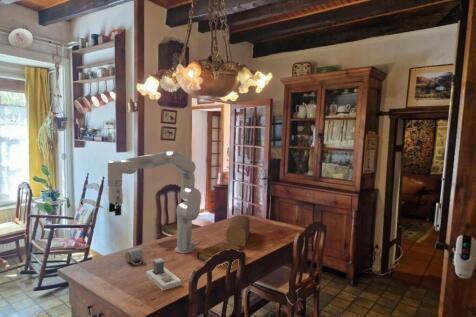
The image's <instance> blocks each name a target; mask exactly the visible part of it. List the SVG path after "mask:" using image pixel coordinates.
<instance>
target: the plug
mask: <svg viewBox="0 0 476 317" xmlns="http://www.w3.org/2000/svg"><path fill="white" fill-rule="evenodd" d="M164 267H165V260H164V259H163V258H161V257H159V258H154V259H153V268H152V270H153V273H154V274H155V275H158V274H162V273H164Z"/></svg>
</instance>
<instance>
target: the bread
mask: <svg viewBox="0 0 476 317" xmlns="http://www.w3.org/2000/svg"><path fill="white" fill-rule="evenodd" d="M250 221H251V219H250V217H249V216H248V215H234V216H233V217H232V221H231V222H230V223H229V225H228V227H227V229H226V240H225V243H228V244H231V245H235V246H238V247H241V248H245V247H246V245H247V241H248V238H249V234H250V231H251V230H250V229H251V228H250V227H251V226H250V225H251V224H250V223H251V222H250Z"/></svg>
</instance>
